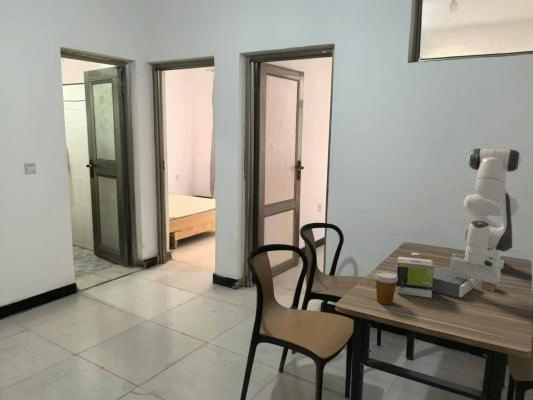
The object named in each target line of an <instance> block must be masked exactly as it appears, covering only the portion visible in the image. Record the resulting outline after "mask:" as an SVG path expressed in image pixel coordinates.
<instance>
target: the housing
mask: <svg viewBox="0 0 533 400" xmlns="http://www.w3.org/2000/svg"><path fill="white" fill-rule="evenodd" d="M465 281H467V277H465V276H460V275H456V274H452V273H451V272H450V268H445V267H441V266H439V267H437V268H435V269H434V270H433V284H432V292H436V293H439V294H443V295H447V296H451V297H454V298H457V299H458V298H460V297H459V286H460V285H461V284H463V283H464V282H465Z"/></svg>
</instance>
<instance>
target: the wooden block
mask: <svg viewBox="0 0 533 400" xmlns="http://www.w3.org/2000/svg"><path fill="white" fill-rule="evenodd" d="M480 289H482V290H486V291H490V292H494V291H495V290H496V289H497V284H494V283H490V282H485V281H481V285H480Z"/></svg>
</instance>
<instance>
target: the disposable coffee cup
mask: <svg viewBox="0 0 533 400" xmlns="http://www.w3.org/2000/svg"><path fill="white" fill-rule="evenodd" d="M374 279H375V284H376V285H375V287H376V289H375V290H376V291H375V292H376V301H377V302H378V303H379V304H381V305H391V304H393V302H394V296H395V293H396V283H397V281H398V277H397V273H395V272H392V271H387V270H378V271H376V273H375V275H374Z"/></svg>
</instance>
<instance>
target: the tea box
mask: <svg viewBox="0 0 533 400" xmlns="http://www.w3.org/2000/svg"><path fill="white" fill-rule="evenodd" d="M434 267H435V266H434V263H433V260H432V259H428V258H427V259H425V258H416V257H405V256H398V257H397V266H396V274H397V277H398V281H397V283H396V288H395V293H396V294H400V295H405V296H407V295H409V296H413V297H414V296H417V297H422V298H430V299H432V295H433V291H432V284H433V271H434V270H435V269H434Z"/></svg>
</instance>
